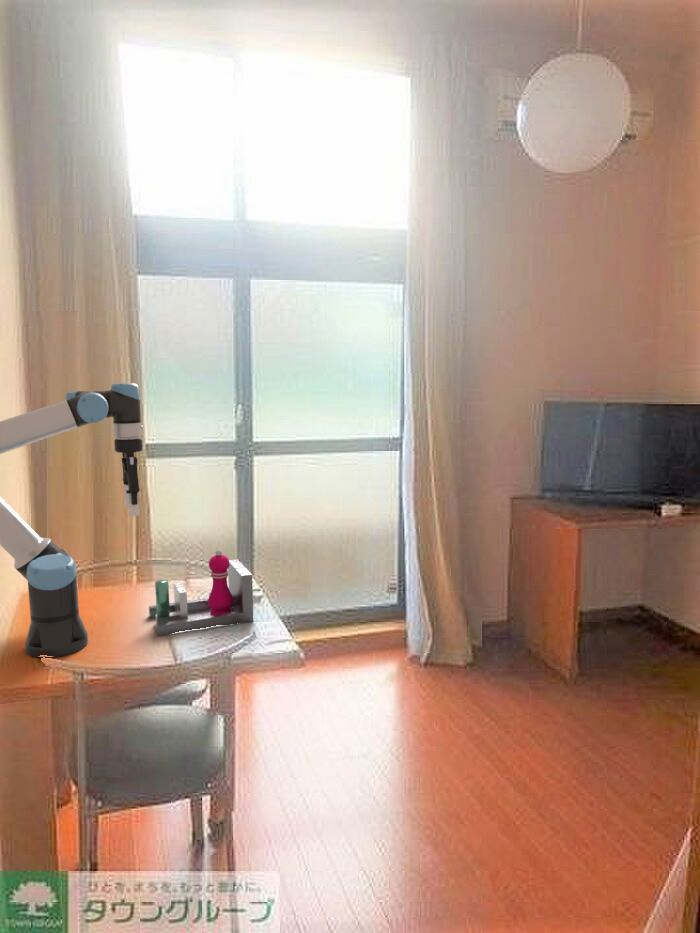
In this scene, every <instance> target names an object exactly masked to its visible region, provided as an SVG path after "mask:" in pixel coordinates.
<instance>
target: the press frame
mask: <svg viewBox="0 0 700 933" xmlns="http://www.w3.org/2000/svg"><path fill="white" fill-rule="evenodd" d="M229 562H230V566H229V568H228V569H227V570H228V576H227V578H228V588H229V590H230V592H231V594H232V597H233V604H232V605H231V607H230V608H231V609H232V612H230V613H223V614H217V615H203V616H197V617H192V618H188V619H184V620H177V621H171V622H164V623H158V624H156V623H155V635H156V636H157V637H165V636H170V634H172V633H175V632H179V631H185V630H192V629H200V628H206V627H211V626H216V625H228V626H231V625H230V624H234V625H240V624H239V623H241V624H245V623H246V624H247V623H253V622H254V596H253V594H254V593H253V574H252V573H251V572H250V571H249V570H248V569H247V568H246V567H245V565H244V564H243V563H242V562H241V561H240V560H239V559H229ZM208 599H209V597H206V598H198V599H191V600H187V611H188V614H189V613H194V612H201V611H202V610H203V611H208V610H211V608H210V606H209V605H208ZM169 606H170V612H175V602H169ZM203 611H202V612H203ZM148 615H149V618H150V619H154V618H155V619H156V615H157V609H156V604H155V605H149V606H148ZM237 623H238V624H237ZM172 635H173V634H172Z"/></svg>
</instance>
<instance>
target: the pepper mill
mask: <svg viewBox="0 0 700 933" xmlns="http://www.w3.org/2000/svg"><path fill="white" fill-rule="evenodd" d="M222 553H223V551H222V550H221V549H217V550H216V551H215V555H213V556H211V557H210V559H209V560H208V569H210V570H211V571H210V577H211V578H212V588H211V591H210V593H209V596H208V598H209V599H208V605H209V606H210V608H211V609H210V611H209V612H210V613H209V614H210V615H217V614H223V613H230V612H233V608H232V607H231V605H232V604H233V597H232V594H231V592H230V590H229V584H228V580H227V578H228V568H229V566H230V562H229V560H230V559H229V558H228V557H227V556H226V555H224V554H222ZM210 615H209V616H210Z"/></svg>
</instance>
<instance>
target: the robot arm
mask: <svg viewBox="0 0 700 933" xmlns="http://www.w3.org/2000/svg"><path fill="white" fill-rule="evenodd" d="M141 411H142V410H141V398H140V388H139V386H138V384H137V383H136V382H135V383H133V382H128V383H126V382H124V383H123V382H122V383H121V382H120V383H112V384H111V385H110V389H109V390H90V391H89V390H75V391H68V392H66V394H65V400H62V401H59V402H56V403H53V404H50V405H47V406H44V407H41V408H37V409H34V410H30V411H28V412H26V413H22V414H19V415H16V416H13V417H10V418H7V419H3V420H1V421H0V455H1V454H5V453H7V452H10V451H13V450H16V449H18V448H22V447H25V446H28V445H30V444H33V443H36V442H40V441H42V440H44V439H48V438H50V437H54V436H56V435H60V434H63V433H66V432H68V431H72V430H75V429H76V428H81V427H83V426H87V425H89V424H97V423H100V422H102V421H103V420H105V418H106V419H107V418H112V420H113V422H112V426H113V428H112V429H113V437H114V438H115V439H114V440H113V441H114V442H113V443H114V451H115V452H116V453H120V454H121V456H122V457H121V464H122V481H123V493H124V508H128V510H129V517H135V516H136V517H137V516H138V517H139V516H141V512H140V511H141V510H140V508H141V507H140V493H139V492H140V490H141V489H140V485H139V474H138V458H137V457H136V456H135V453H139V452H142V451H143V439H142V436H143V435H142V430H143V429H144V425H142V419H141V417H142V416H141V415H142V414H141ZM0 547H1V548H2V549H4V551H6V552H7V554H8V555H10V557H12V558H13V559H14V566H13V567H14V569H15V570H16V571H17V572H18V573H19V574H20V575H21V576H22V577H23V578H24V579H26V581H27V587H28V588H27V589H28V591H27V592H28V601H29V602H28V603H29V613H30V625H29V628H28V630H27V635H26V638H25V645H24V646H25V647H24V648H25V653H26V654H27V655H28V656H30V657H32V658H33V657H34V658H39V657H38V656H40V655H47V656H58V657H63V656H67V655H70V654H73V653H76V652H78V651H80V650H82V649H83V648H85V647H86V646H87V645H88V643H89V635H88V631H87V629H86V627H85V625H84V623H83V620H82V618H81V616H80V608H79V596H78V595H79V594H78V592H79V591H78V582H77V580H78V578H77V574H78V570H77V566H76V562H75V560H74V559H73V558H72V556H71V555H70V554H69V553H68V552H67V550H64V549H62V548H60V547H59V546H58V545H57V544H56V543H55V542H54V541H53V540H52V539H51V538H50V537H41V536H40V535H39V534H38V533H37V532H36V531H35V530H34V529H33V528H32V527H31V525H30V524H28V523H27V521H26V520H25V519H23V518H22V516H21V515H20V514H18V512H17V511H15V509H14V508H13V507H11V505H10V504H9V503H8V502H7V501H6V500H5V499H4V498H3V497H2V496H1V495H0Z"/></svg>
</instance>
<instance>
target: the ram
mask: <svg viewBox="0 0 700 933" xmlns="http://www.w3.org/2000/svg"><path fill="white" fill-rule="evenodd" d="M154 587H155V605H156V609H157V615H156V618H155V625H156V624H158V623H164V622H171V621H177V620H184V619H189V617H188V614H189V613H188V611H187V601H188V594H187V590H186V588H185V587H184V585H183V583H182V582H181V581H178V582H173V595H174V596H173V598H174V603H175V612H170V606H169V603H170V591H169V588H170V586H169V580H168V579H157V580H155V582H154Z"/></svg>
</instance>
